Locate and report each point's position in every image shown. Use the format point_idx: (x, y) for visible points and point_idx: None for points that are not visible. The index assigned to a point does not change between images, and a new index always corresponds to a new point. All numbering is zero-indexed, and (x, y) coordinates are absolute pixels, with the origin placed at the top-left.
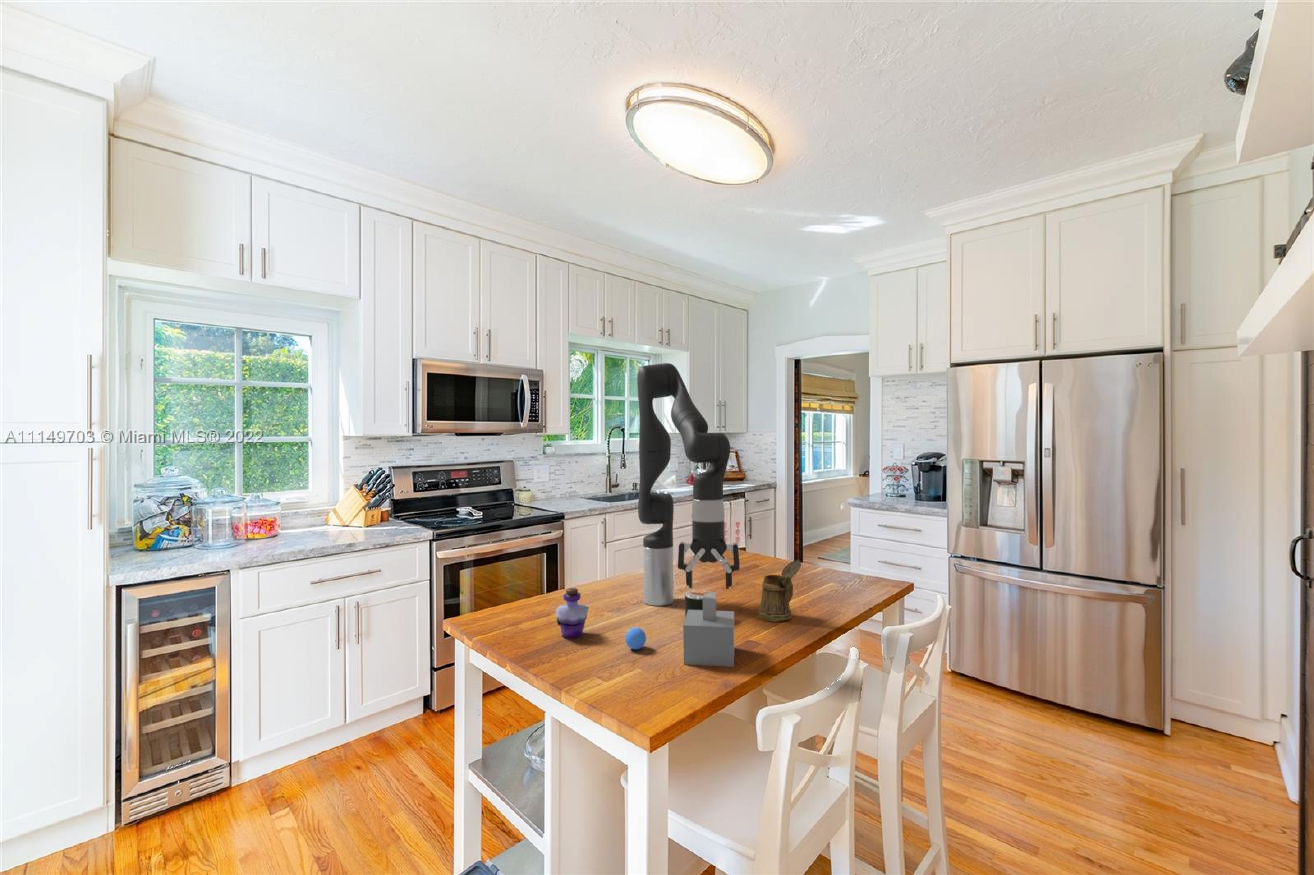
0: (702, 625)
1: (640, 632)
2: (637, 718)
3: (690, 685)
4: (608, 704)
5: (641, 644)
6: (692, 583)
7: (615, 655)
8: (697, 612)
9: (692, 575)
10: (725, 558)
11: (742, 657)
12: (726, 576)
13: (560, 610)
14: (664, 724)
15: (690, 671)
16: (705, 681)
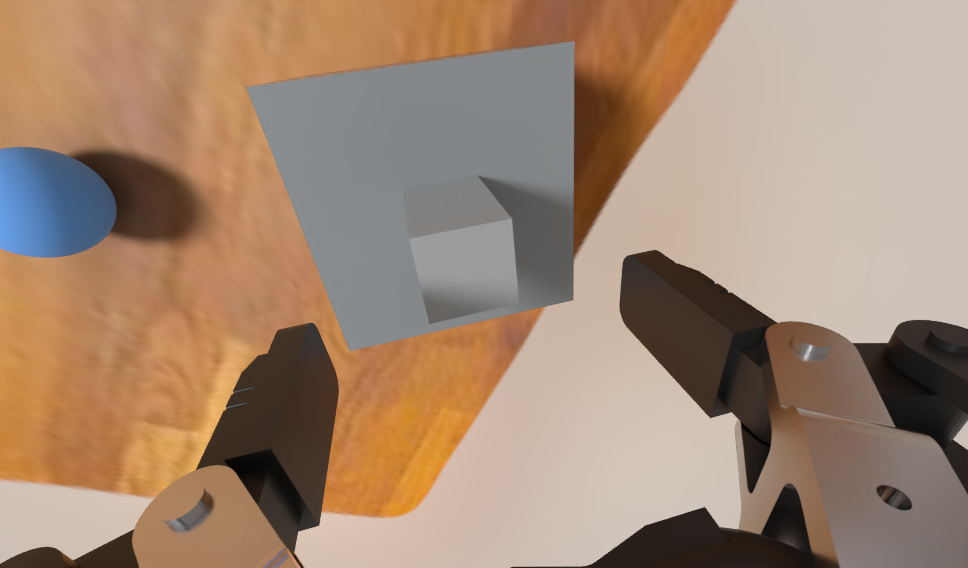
0: (437, 324)
1: (60, 231)
2: (370, 499)
3: (426, 370)
4: None
5: (113, 223)
6: (311, 345)
7: (53, 278)
8: (341, 135)
9: (290, 399)
10: (942, 456)
11: None
12: (695, 390)
13: None
14: (425, 493)
15: None
16: (457, 340)
